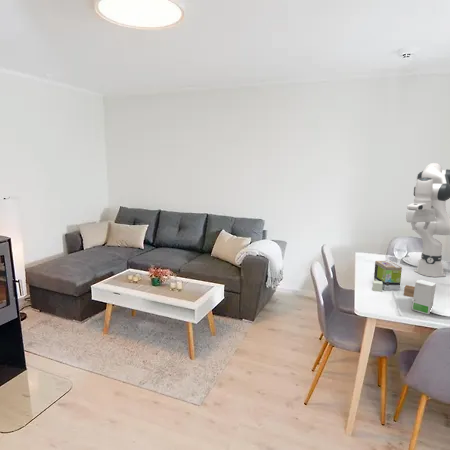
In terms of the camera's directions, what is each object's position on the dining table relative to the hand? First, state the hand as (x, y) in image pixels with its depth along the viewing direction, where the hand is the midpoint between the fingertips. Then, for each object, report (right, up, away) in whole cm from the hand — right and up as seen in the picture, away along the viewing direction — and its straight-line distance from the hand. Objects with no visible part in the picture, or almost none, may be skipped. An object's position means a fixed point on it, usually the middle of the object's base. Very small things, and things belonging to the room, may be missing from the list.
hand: (420, 229), depth 197 cm
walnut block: (-6, -38, +1) cm, 39 cm away
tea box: (-12, -36, +16) cm, 41 cm away
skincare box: (-10, -42, -20) cm, 48 cm away
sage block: (-21, -37, +9) cm, 43 cm away
